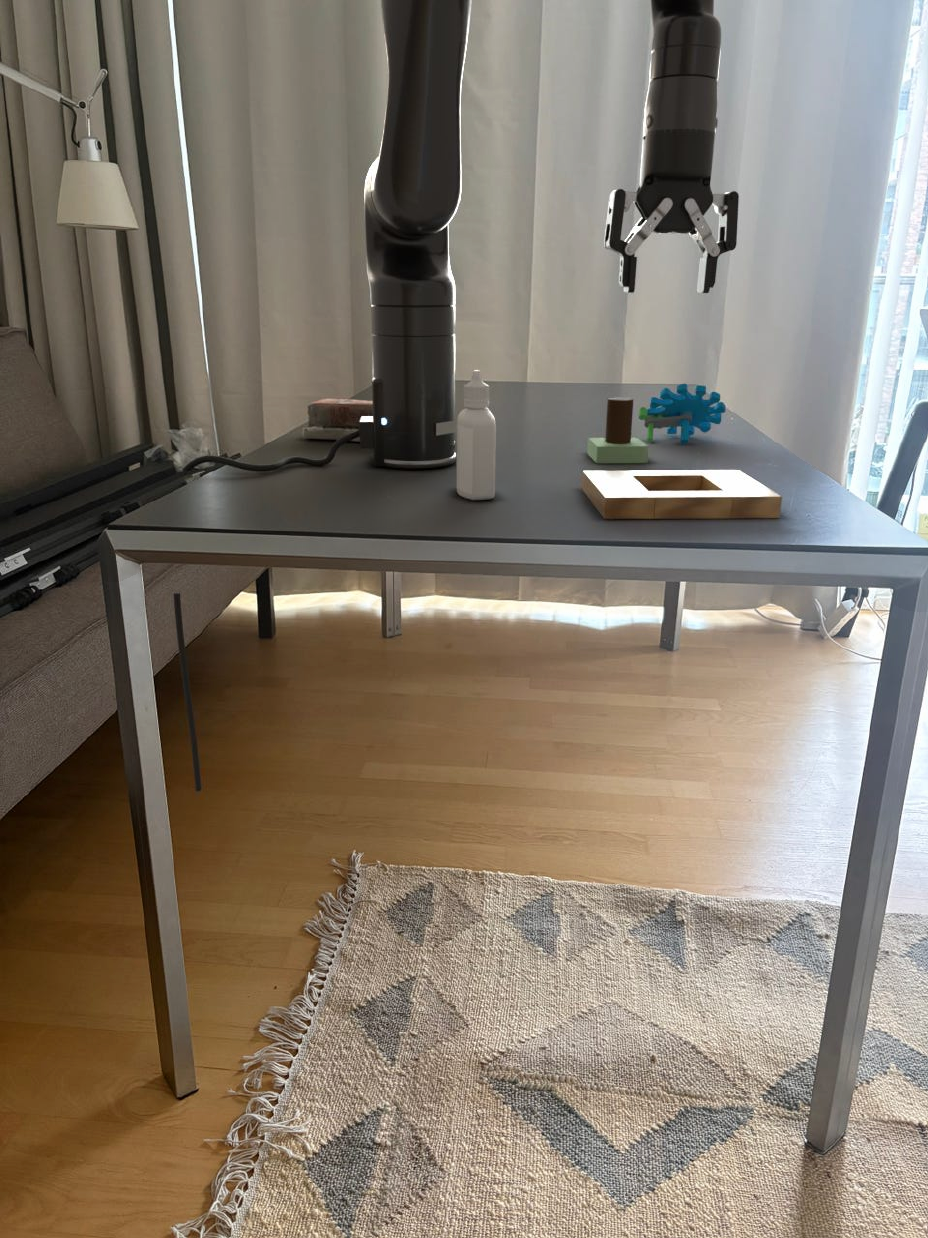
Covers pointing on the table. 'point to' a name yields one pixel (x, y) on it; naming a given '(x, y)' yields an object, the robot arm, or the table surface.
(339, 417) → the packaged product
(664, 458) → the table surface
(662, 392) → the gear
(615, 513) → the wooden board
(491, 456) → the eye dropper bottle
